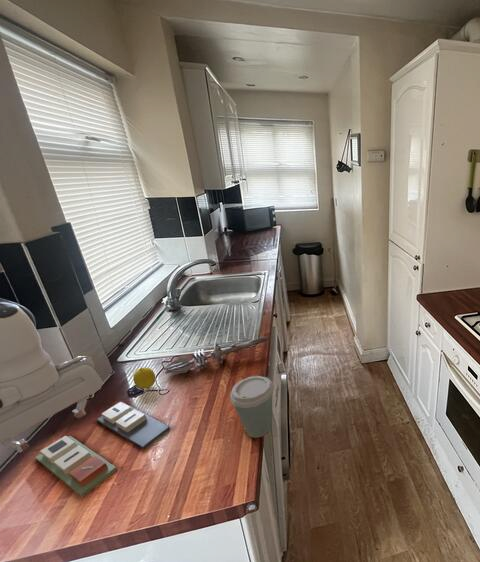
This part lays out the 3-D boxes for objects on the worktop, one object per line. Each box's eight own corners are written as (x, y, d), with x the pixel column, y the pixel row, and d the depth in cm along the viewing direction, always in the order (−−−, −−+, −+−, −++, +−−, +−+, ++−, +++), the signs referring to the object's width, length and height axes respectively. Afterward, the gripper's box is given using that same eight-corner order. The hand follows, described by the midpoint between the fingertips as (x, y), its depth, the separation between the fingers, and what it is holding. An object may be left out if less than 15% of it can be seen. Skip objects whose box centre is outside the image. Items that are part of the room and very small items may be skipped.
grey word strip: (97, 421, 88) (94, 414, 87) (124, 404, 93) (121, 397, 92) (143, 449, 79) (140, 441, 78) (170, 429, 85) (167, 421, 83)
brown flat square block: (71, 478, 71) (68, 472, 70) (97, 460, 75) (94, 454, 74) (82, 487, 69) (79, 481, 68) (108, 468, 73) (105, 462, 72)
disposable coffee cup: (249, 413, 89) (239, 371, 83) (286, 413, 89) (278, 371, 83) (232, 445, 79) (220, 400, 74) (273, 445, 79) (264, 400, 73)
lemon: (161, 386, 101) (154, 366, 98) (142, 396, 97) (134, 376, 93) (153, 380, 104) (146, 360, 101) (135, 390, 99) (126, 370, 96)
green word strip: (36, 459, 77) (31, 451, 76) (71, 438, 83) (67, 430, 82) (81, 497, 68) (76, 488, 67) (117, 469, 74) (113, 461, 73)
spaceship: (268, 339, 110) (264, 323, 115) (158, 375, 99) (159, 355, 104) (272, 351, 116) (268, 335, 121) (169, 386, 105) (169, 367, 110)
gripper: (81, 348, 71) (102, 395, 76) (-63, 410, 53) (-23, 465, 59) (96, 355, 68) (116, 403, 73) (-50, 422, 51) (-10, 478, 56)
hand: (53, 431), depth 66 cm, fingers open, 8 cm apart
